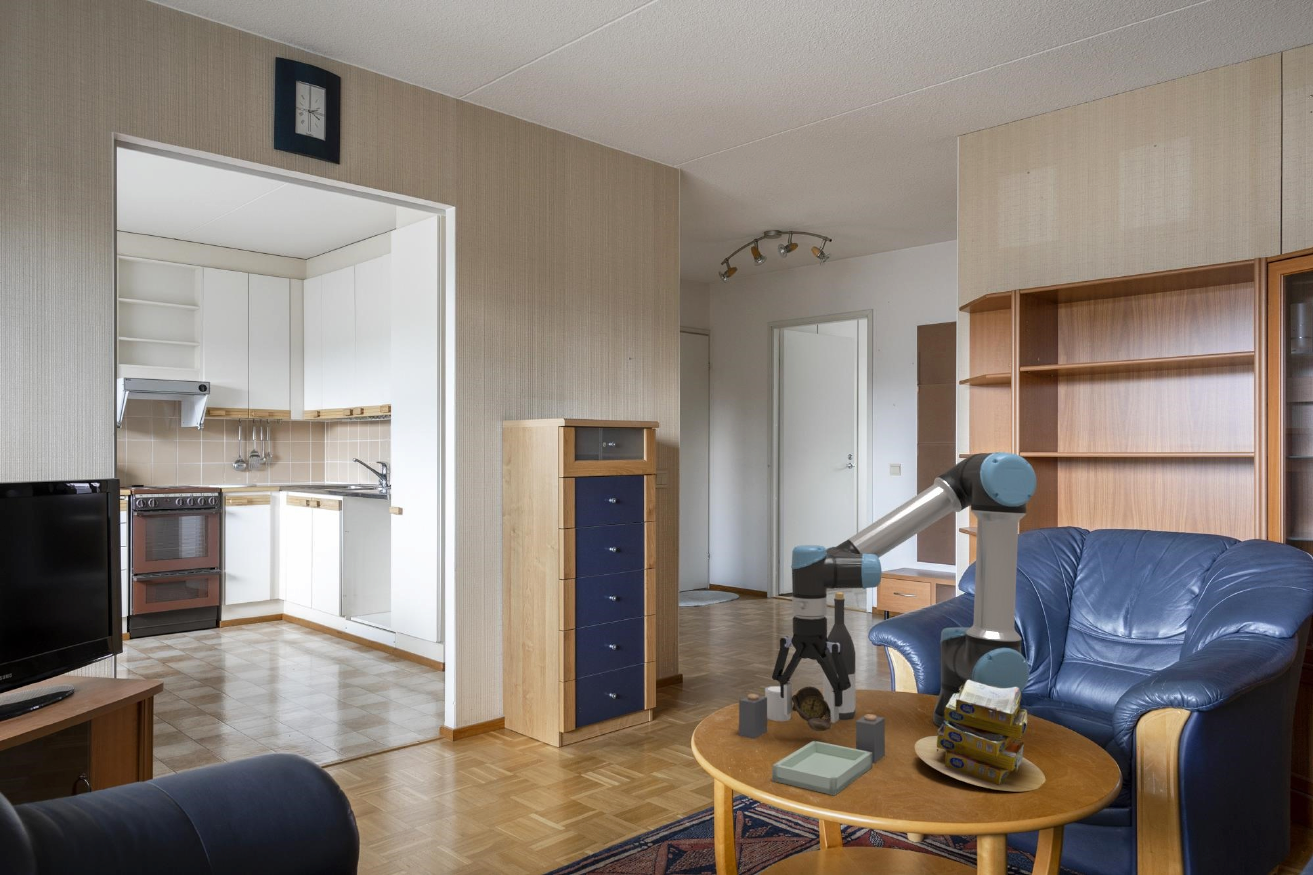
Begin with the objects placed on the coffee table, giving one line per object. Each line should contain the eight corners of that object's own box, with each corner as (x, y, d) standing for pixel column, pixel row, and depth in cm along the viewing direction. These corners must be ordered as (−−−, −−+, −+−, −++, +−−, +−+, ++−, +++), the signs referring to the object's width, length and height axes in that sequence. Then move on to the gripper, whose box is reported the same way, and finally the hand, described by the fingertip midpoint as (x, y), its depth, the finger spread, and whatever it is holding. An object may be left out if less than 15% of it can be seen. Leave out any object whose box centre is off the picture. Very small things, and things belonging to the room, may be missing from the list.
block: (884, 755, 186) (884, 714, 187) (874, 763, 181) (874, 720, 182) (866, 752, 189) (866, 710, 189) (856, 759, 184) (856, 717, 184)
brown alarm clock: (841, 692, 198) (797, 680, 201) (835, 702, 186) (789, 688, 189) (834, 724, 198) (791, 711, 201) (828, 735, 186) (782, 721, 189)
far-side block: (766, 732, 202) (767, 693, 203) (754, 738, 197) (754, 699, 198) (751, 729, 205) (751, 691, 205) (739, 735, 200) (739, 696, 200)
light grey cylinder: (795, 722, 210) (795, 692, 211) (766, 721, 210) (766, 692, 211) (791, 713, 217) (791, 685, 217) (763, 713, 217) (763, 685, 218)
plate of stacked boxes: (1063, 770, 178) (1063, 687, 179) (1016, 804, 160) (1015, 711, 161) (947, 743, 195) (947, 668, 196) (892, 771, 177) (892, 687, 178)
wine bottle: (816, 715, 216) (816, 592, 217) (833, 708, 222) (833, 589, 223) (845, 721, 211) (845, 596, 212) (862, 714, 217) (862, 592, 218)
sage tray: (872, 767, 179) (872, 752, 179) (834, 795, 163) (834, 779, 164) (813, 754, 186) (813, 740, 187) (772, 780, 171) (772, 765, 171)
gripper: (755, 613, 197) (756, 713, 197) (852, 623, 184) (854, 729, 184) (771, 609, 203) (772, 705, 203) (865, 618, 190) (867, 721, 190)
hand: (811, 717), depth 193 cm, fingers closed on brown alarm clock, 10 cm apart
